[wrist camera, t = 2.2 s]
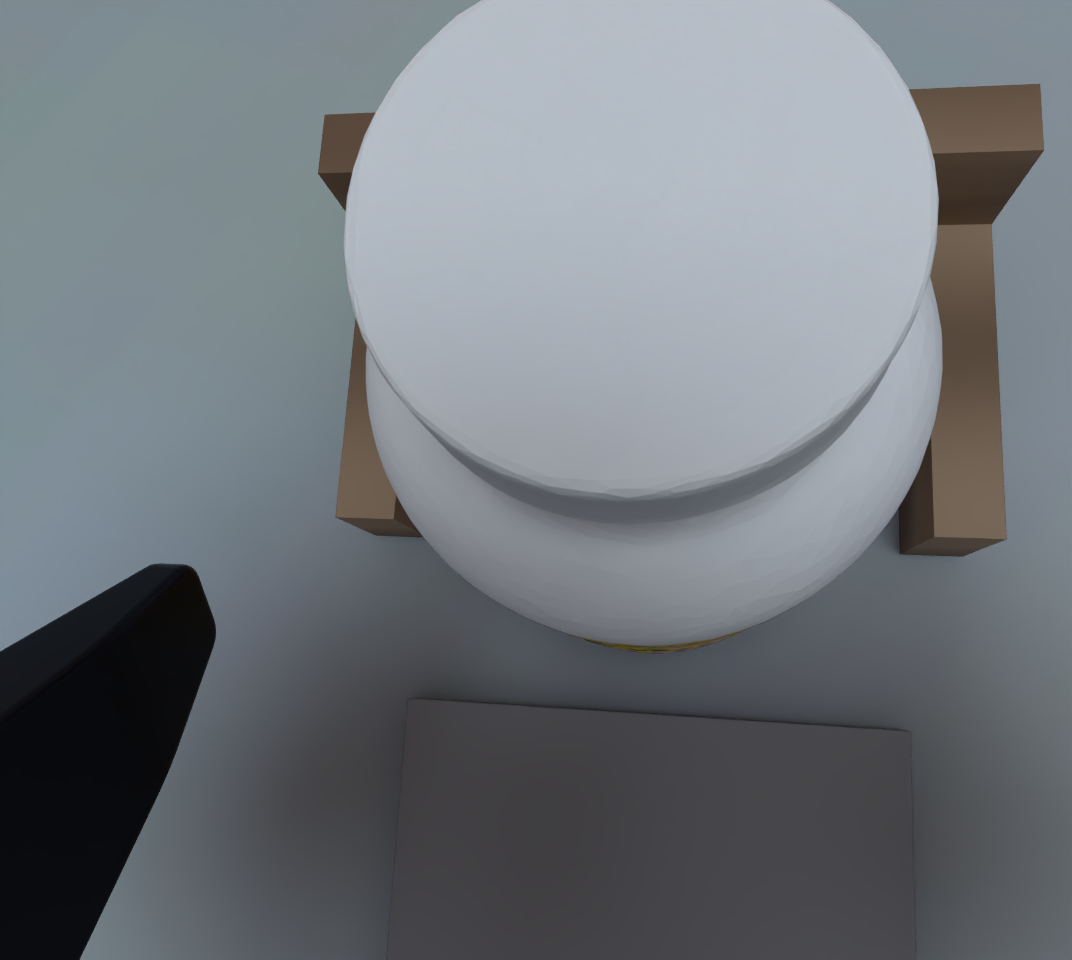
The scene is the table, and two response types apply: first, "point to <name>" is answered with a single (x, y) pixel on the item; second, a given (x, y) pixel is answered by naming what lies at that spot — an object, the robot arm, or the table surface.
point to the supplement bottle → (648, 306)
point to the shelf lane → (962, 299)
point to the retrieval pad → (649, 837)
